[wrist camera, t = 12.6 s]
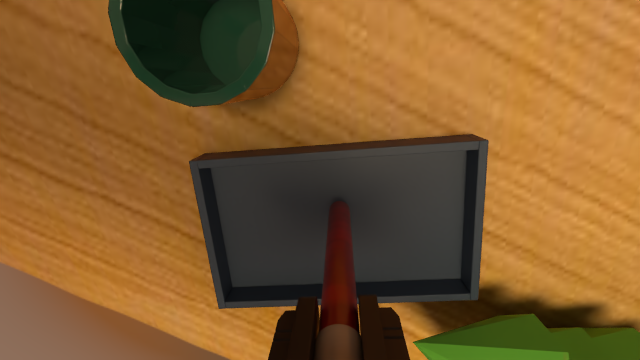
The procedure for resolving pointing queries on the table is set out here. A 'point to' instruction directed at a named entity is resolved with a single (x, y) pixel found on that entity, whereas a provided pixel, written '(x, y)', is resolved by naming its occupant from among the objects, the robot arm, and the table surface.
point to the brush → (339, 293)
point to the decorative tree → (530, 341)
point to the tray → (365, 213)
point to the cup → (207, 47)
